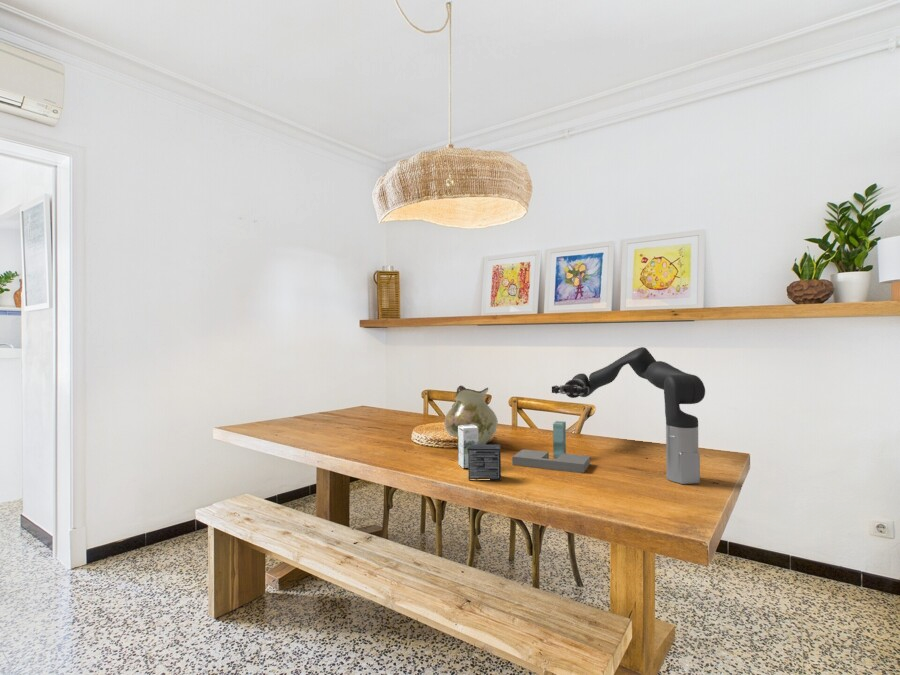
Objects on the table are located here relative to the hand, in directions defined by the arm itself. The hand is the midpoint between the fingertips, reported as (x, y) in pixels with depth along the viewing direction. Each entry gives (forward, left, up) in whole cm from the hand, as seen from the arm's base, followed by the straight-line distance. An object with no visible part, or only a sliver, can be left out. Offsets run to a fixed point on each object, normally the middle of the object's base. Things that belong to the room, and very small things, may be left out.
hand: (566, 391), depth 187 cm
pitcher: (+18, +36, -25) cm, 47 cm away
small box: (-29, +36, -25) cm, 53 cm away
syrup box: (-15, +40, -25) cm, 50 cm away
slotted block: (-15, +10, -24) cm, 30 cm away
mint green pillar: (-5, +4, -24) cm, 25 cm away
